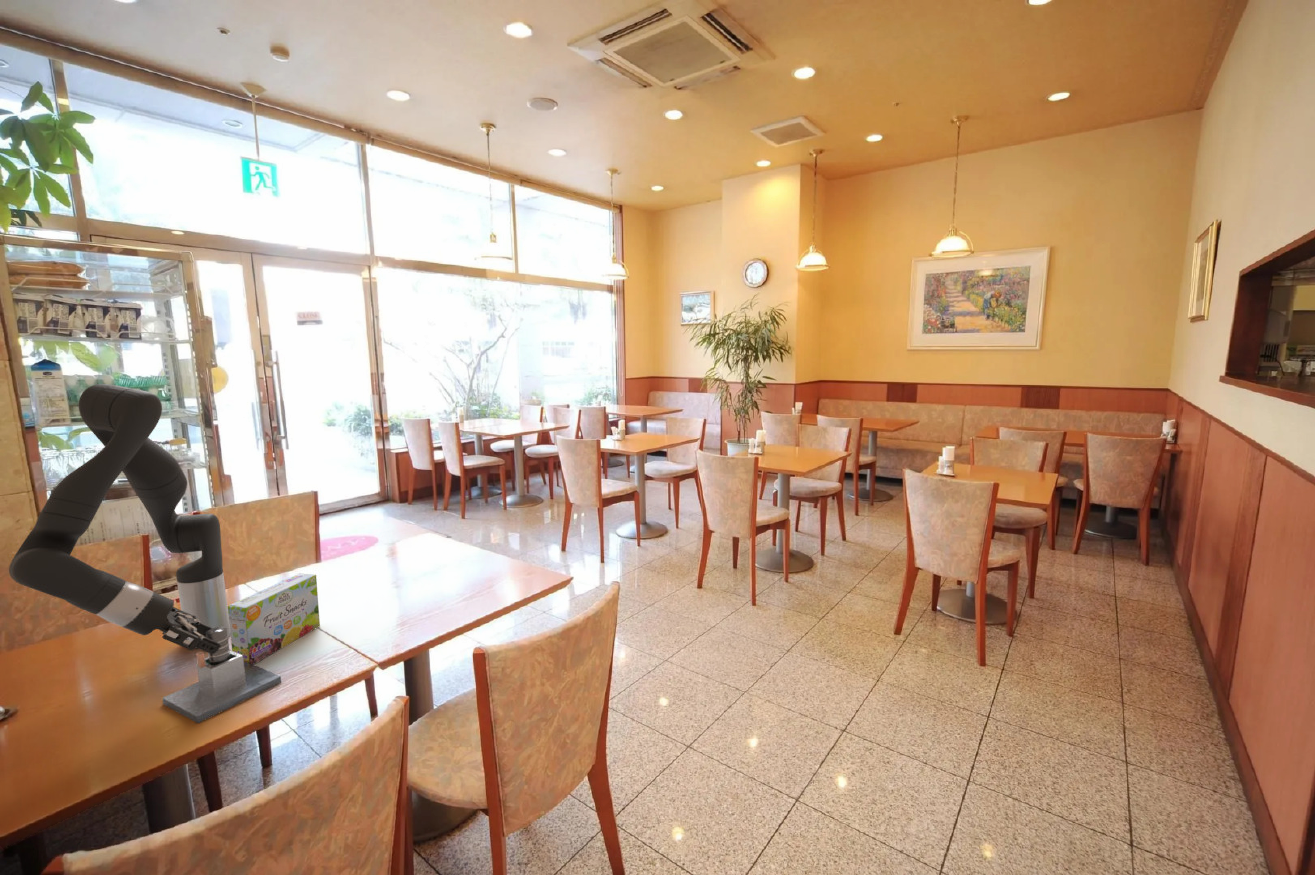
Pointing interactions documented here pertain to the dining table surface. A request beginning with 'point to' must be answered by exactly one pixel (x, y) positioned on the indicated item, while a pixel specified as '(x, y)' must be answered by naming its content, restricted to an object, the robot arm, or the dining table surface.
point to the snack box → (274, 617)
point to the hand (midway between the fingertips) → (215, 642)
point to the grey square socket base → (220, 687)
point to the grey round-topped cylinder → (221, 637)
